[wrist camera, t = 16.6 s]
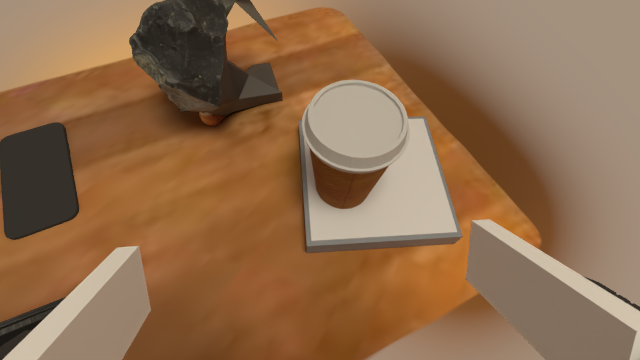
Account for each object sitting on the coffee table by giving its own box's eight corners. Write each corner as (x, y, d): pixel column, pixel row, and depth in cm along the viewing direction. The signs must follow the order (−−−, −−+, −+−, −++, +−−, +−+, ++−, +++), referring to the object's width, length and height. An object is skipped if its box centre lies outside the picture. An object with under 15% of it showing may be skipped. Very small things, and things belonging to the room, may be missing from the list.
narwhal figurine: (166, 80, 49) (104, -57, 33) (269, 62, 52) (255, -71, 36) (176, 158, 42) (104, 33, 27) (293, 132, 45) (289, 6, 30)
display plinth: (306, 253, 37) (306, 245, 35) (298, 131, 45) (298, 119, 43) (454, 243, 38) (463, 235, 36) (420, 127, 47) (426, 115, 45)
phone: (4, 242, 36) (-3, 138, 42) (9, 245, 36) (2, 142, 43) (79, 215, 38) (62, 119, 44) (83, 217, 38) (66, 123, 45)
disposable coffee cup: (325, 139, 42) (334, 62, 31) (396, 172, 40) (429, 102, 30) (285, 197, 38) (280, 130, 27) (362, 238, 36) (387, 182, 25)
